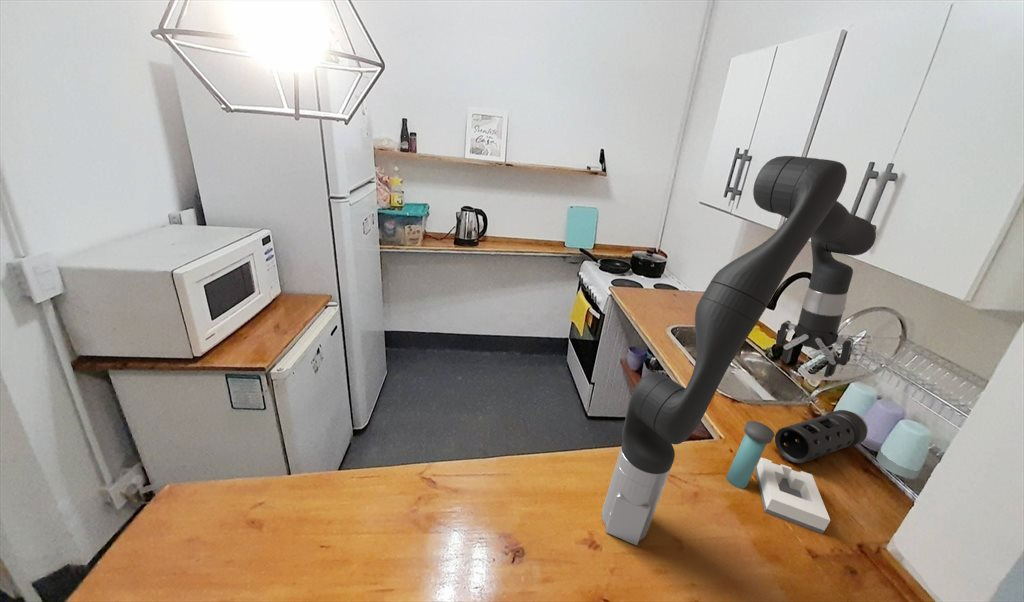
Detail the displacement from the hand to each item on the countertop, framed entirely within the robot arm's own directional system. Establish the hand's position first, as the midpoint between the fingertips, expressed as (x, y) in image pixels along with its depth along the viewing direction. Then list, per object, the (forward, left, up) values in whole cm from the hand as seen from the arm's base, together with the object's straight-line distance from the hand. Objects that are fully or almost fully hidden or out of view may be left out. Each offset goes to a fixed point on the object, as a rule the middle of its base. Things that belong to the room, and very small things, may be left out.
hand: (806, 368), depth 98 cm
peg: (-16, +9, -26) cm, 32 cm away
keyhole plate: (-16, -1, -26) cm, 31 cm away
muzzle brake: (+9, -13, -27) cm, 31 cm away
